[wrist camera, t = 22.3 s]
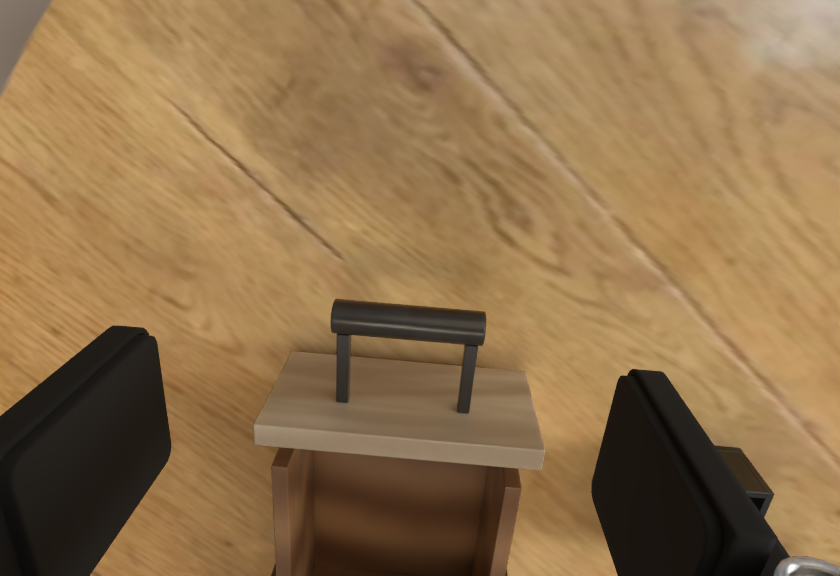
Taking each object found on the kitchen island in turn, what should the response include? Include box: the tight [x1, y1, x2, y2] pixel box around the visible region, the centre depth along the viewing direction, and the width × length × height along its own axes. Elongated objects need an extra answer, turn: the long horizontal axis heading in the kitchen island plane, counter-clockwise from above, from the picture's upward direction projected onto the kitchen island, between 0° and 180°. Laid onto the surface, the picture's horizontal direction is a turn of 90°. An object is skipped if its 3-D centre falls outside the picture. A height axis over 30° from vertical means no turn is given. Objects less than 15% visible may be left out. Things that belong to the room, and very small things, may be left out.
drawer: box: [253, 299, 545, 576], centre depth 30 cm, size 22×13×7 cm, turn 176°
